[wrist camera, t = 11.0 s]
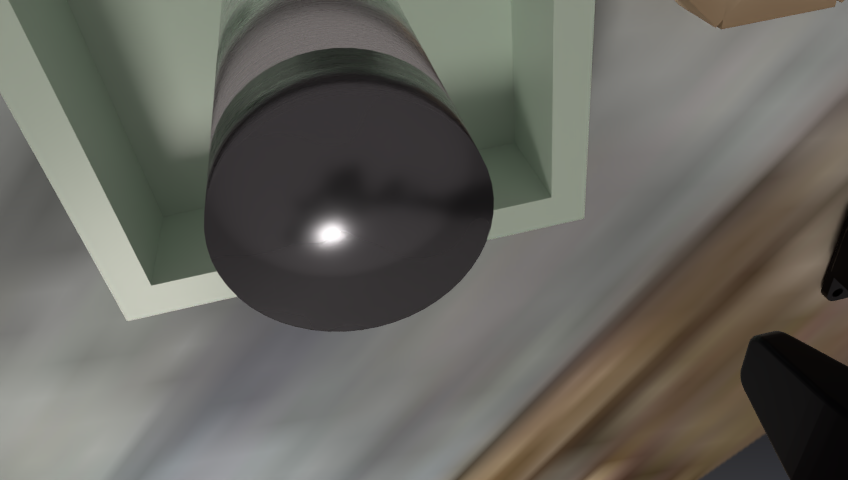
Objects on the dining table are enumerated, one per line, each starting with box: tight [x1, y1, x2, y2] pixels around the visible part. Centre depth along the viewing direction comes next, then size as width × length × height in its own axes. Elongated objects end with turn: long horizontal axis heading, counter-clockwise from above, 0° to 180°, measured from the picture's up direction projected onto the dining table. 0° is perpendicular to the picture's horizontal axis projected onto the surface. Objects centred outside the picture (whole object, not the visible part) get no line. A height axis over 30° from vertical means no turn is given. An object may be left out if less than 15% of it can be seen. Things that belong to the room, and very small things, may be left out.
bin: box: [0, 0, 595, 321], centre depth 16 cm, size 13×13×4 cm
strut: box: [204, 0, 494, 331], centre depth 13 cm, size 4×4×10 cm
